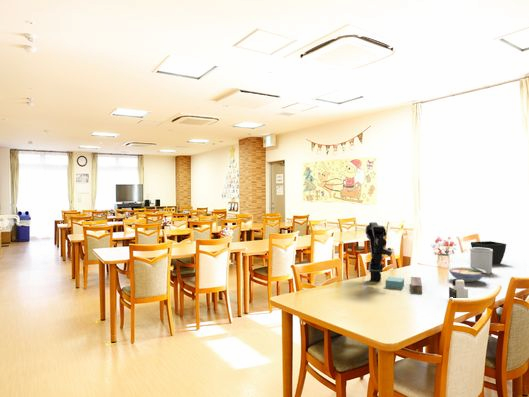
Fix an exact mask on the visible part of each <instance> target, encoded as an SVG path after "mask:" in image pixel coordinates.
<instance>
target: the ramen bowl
mask: <svg viewBox="0 0 529 397" xmlns="http://www.w3.org/2000/svg"><path fill="white" fill-rule="evenodd" d="M471 267H472V266H454V267H453V266H452V267H449V268H448V271H449V273H450V275H451V276H452V277H454V279H462V280H464V283H473V282H476V281H479V280H481V279H483V278H484V277H485V275H488V274H487V273H486V271H484V270H482V269H477V268H474V267H472V268H471Z"/></svg>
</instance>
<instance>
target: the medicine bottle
mask: <svg viewBox="0 0 529 397" xmlns="http://www.w3.org/2000/svg"><path fill="white" fill-rule="evenodd" d="M448 294H449V295H448V299H449V298H450V297H453V298H468V299H469V289H468V288H466V287H465V282H464V280H462V279H457V278H453V279H452V286H449V287H448Z"/></svg>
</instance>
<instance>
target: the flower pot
mask: <svg viewBox="0 0 529 397" xmlns="http://www.w3.org/2000/svg"><path fill="white" fill-rule="evenodd" d="M470 246H471V247H470V248H473V247H481V248H489V249H492V250H493V252H492V265H498V264H499V265H500V264H501V263H502V261H503V258H504V256H505V253H506V249H507V243H503V242H497V241H492V240H491V241H489V240H487V241H472V242H470Z"/></svg>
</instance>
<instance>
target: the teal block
mask: <svg viewBox="0 0 529 397" xmlns="http://www.w3.org/2000/svg"><path fill="white" fill-rule="evenodd" d="M404 286H405V277H404V278H403V277H391V276H387V278H386V279H385V288H387V289H397V290H398V289H399V290H403V289H404Z"/></svg>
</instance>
